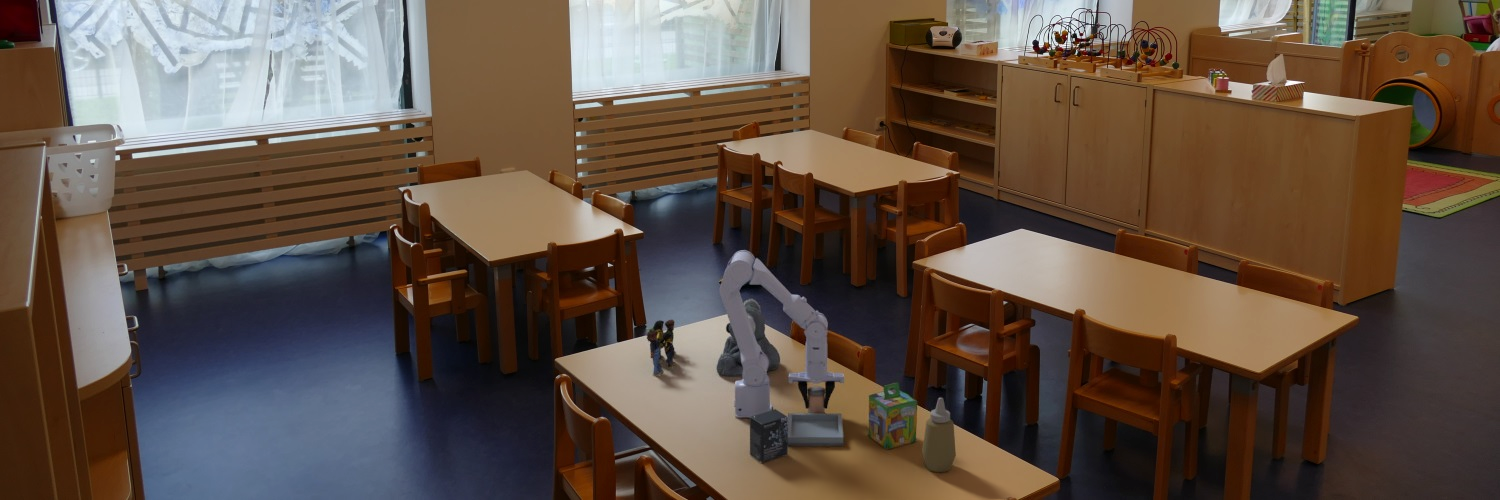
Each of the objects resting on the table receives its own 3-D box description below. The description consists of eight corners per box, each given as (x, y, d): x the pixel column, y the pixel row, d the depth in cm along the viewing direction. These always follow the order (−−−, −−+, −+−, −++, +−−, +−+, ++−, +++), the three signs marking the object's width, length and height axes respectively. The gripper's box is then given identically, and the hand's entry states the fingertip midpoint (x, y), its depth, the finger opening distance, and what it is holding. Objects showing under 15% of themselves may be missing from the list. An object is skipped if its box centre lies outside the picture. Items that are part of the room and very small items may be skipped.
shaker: (807, 417, 310) (807, 393, 308) (807, 410, 315) (807, 386, 313) (825, 417, 310) (825, 393, 308) (824, 410, 314) (824, 386, 312)
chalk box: (887, 450, 291) (888, 395, 287) (866, 436, 299) (867, 382, 295) (917, 442, 295) (919, 388, 291) (896, 428, 303) (898, 375, 299)
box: (762, 463, 286) (761, 424, 283) (749, 455, 290) (748, 416, 287) (788, 455, 290) (788, 416, 287) (775, 446, 294) (775, 408, 291)
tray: (787, 445, 295) (787, 437, 294) (788, 421, 308) (787, 413, 307) (843, 446, 294) (843, 437, 293) (841, 421, 307) (841, 413, 307)
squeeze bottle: (918, 460, 286) (920, 392, 281) (950, 458, 287) (953, 390, 281) (925, 476, 278) (927, 406, 273) (959, 474, 279) (962, 404, 274)
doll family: (679, 378, 336) (678, 335, 332) (648, 380, 335) (646, 337, 332) (675, 349, 358) (674, 308, 354) (646, 350, 357) (644, 309, 354)
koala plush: (724, 354, 353) (723, 293, 348) (783, 357, 351) (783, 295, 345) (714, 377, 337) (713, 313, 331) (777, 380, 334) (776, 315, 329)
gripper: (788, 365, 304) (788, 413, 308) (844, 365, 304) (844, 413, 308) (788, 355, 311) (789, 402, 315) (843, 355, 310) (843, 402, 314)
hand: (816, 407), depth 312 cm, fingers closed on shaker, 4 cm apart
